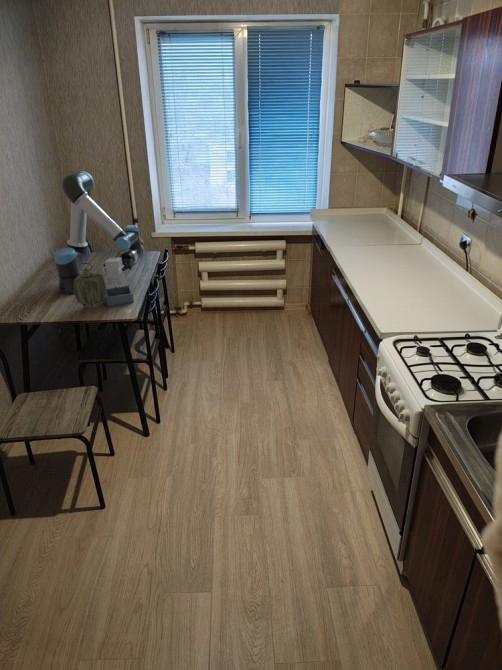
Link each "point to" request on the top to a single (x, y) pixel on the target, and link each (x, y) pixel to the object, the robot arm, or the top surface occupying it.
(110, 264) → the supplement box
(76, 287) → the tabletop clock
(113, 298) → the tote
